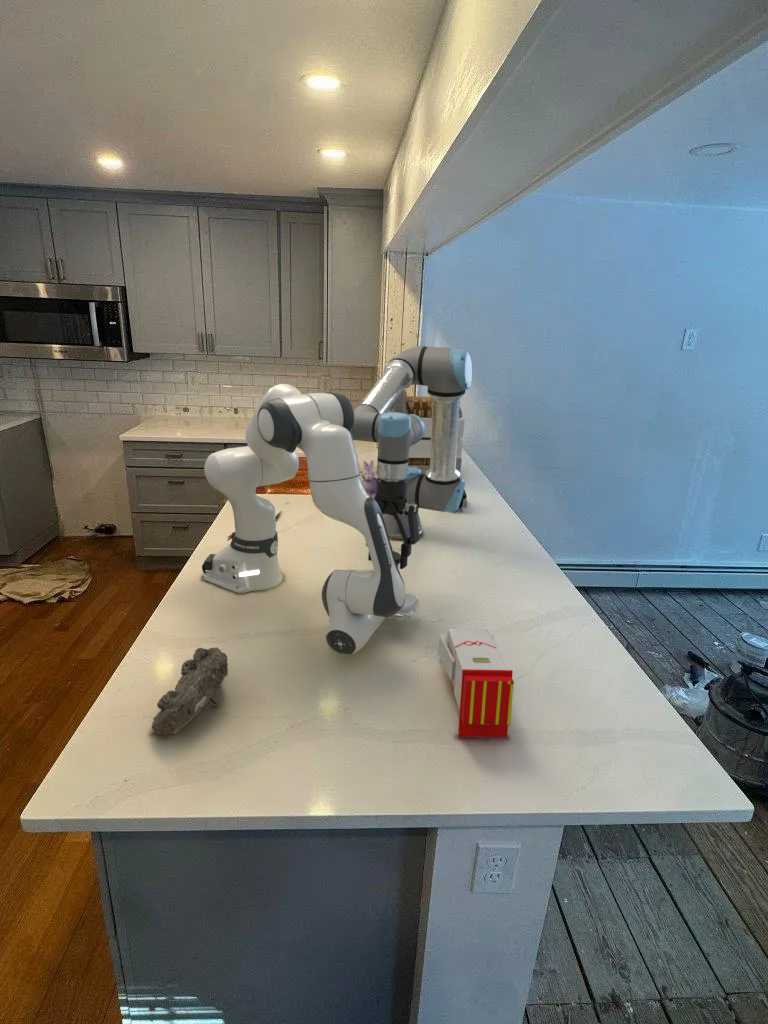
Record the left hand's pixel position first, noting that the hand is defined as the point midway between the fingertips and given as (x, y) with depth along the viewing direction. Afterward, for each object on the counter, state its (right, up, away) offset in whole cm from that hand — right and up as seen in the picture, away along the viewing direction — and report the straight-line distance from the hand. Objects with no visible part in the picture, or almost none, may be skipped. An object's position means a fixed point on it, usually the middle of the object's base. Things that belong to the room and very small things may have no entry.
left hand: (387, 586), depth 149 cm
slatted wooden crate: (+16, +38, +126) cm, 133 cm away
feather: (-40, +18, +64) cm, 78 cm away
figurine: (-7, +26, +90) cm, 94 cm away
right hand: (0, +6, -3) cm, 7 cm away
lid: (0, +8, -4) cm, 9 cm away
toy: (+17, -18, -30) cm, 39 cm away
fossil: (-38, -18, -37) cm, 56 cm away
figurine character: (+28, +21, +81) cm, 88 cm away
